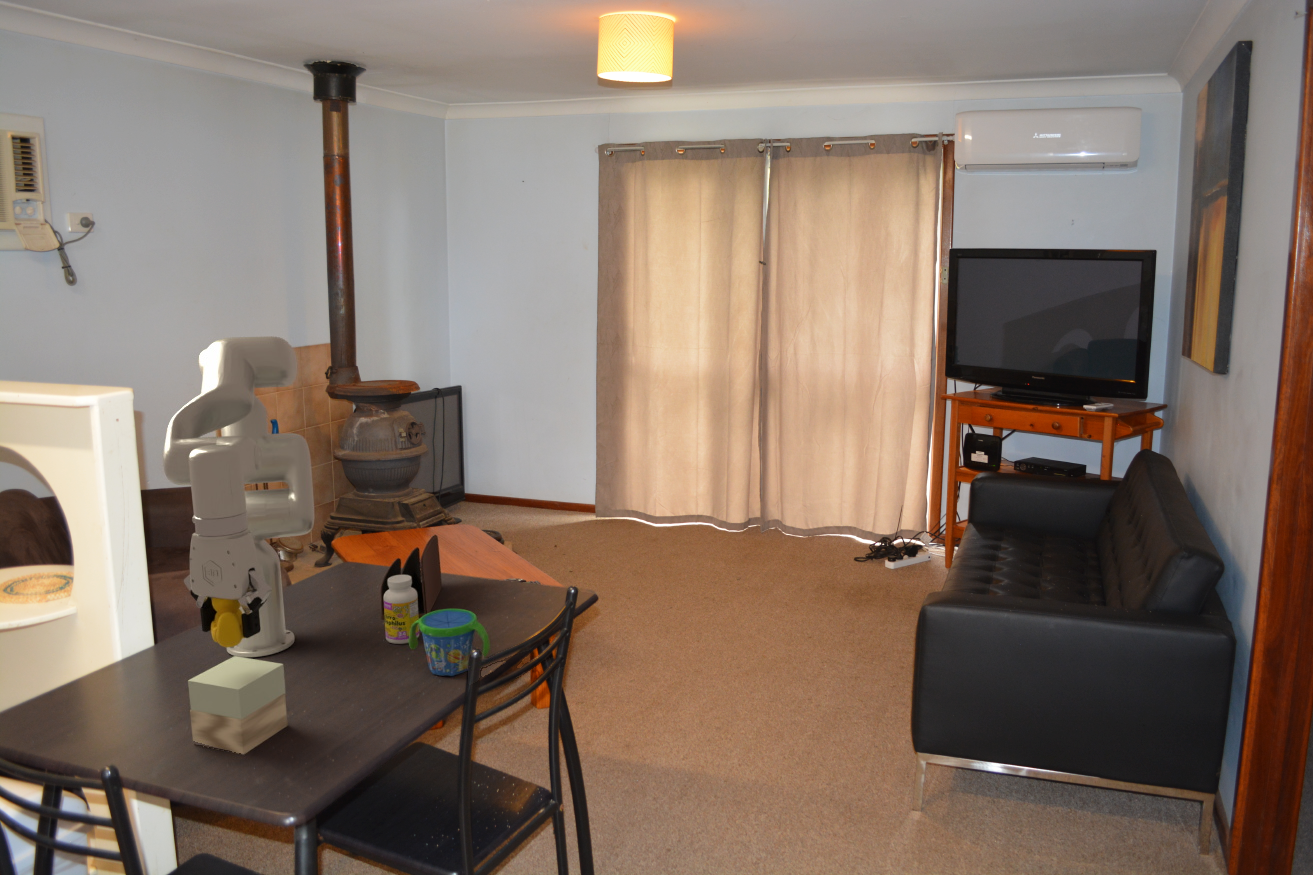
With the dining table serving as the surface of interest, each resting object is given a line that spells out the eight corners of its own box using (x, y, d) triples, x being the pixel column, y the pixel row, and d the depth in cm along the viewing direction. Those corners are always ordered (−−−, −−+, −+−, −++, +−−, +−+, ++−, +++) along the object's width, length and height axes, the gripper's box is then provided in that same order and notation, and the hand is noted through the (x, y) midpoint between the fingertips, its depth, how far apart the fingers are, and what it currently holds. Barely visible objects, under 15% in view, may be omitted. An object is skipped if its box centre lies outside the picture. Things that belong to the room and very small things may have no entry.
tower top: (190, 709, 154) (187, 680, 153) (237, 683, 163) (234, 655, 162) (241, 719, 151) (238, 689, 150) (285, 692, 160) (283, 663, 159)
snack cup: (501, 664, 184) (499, 613, 182) (471, 687, 174) (468, 633, 173) (431, 652, 190) (428, 603, 188) (398, 674, 180) (395, 622, 178)
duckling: (213, 632, 159) (207, 574, 157) (248, 627, 161) (243, 570, 159) (211, 658, 149) (205, 596, 147) (249, 652, 151) (243, 591, 149)
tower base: (193, 745, 155) (189, 710, 154) (239, 717, 164) (236, 684, 163) (243, 755, 152) (240, 719, 150) (287, 726, 161) (284, 692, 160)
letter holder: (442, 587, 227) (439, 529, 225) (427, 619, 208) (424, 555, 205) (399, 589, 227) (395, 531, 224) (380, 620, 207) (376, 557, 205)
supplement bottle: (378, 642, 195) (375, 581, 193) (399, 630, 201) (395, 571, 199) (406, 647, 193) (402, 585, 190) (426, 635, 199) (423, 575, 196)
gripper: (158, 526, 150) (170, 634, 154) (249, 535, 145) (259, 647, 148) (196, 514, 157) (206, 617, 161) (283, 522, 152) (292, 629, 155)
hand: (231, 631), depth 154 cm, fingers closed on duckling, 7 cm apart
